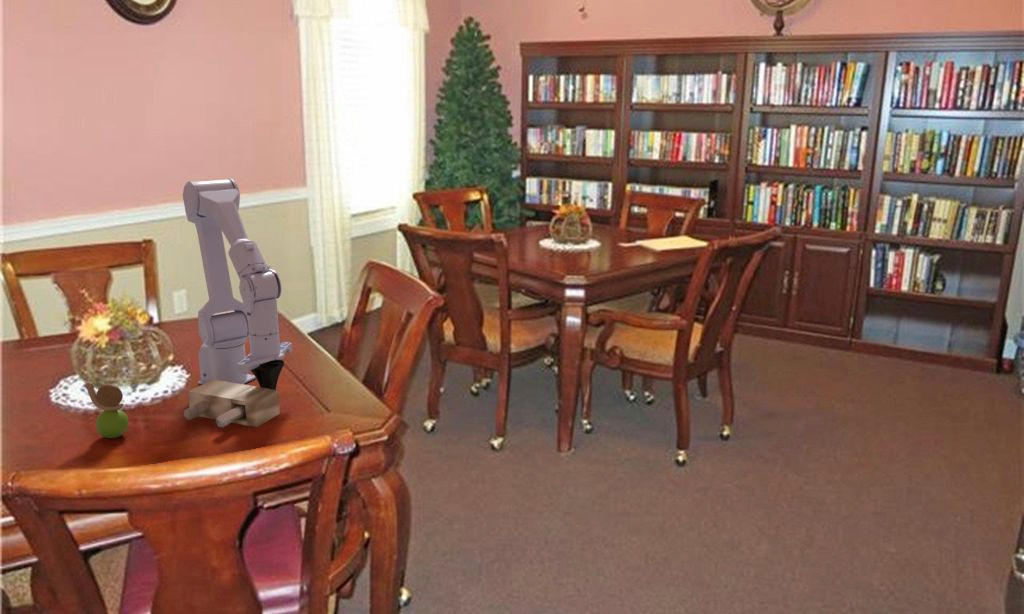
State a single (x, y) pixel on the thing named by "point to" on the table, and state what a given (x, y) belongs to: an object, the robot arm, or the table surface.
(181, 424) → the table surface
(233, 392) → the beige block with pegs
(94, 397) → the snail figurine
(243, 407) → the lynch pin
